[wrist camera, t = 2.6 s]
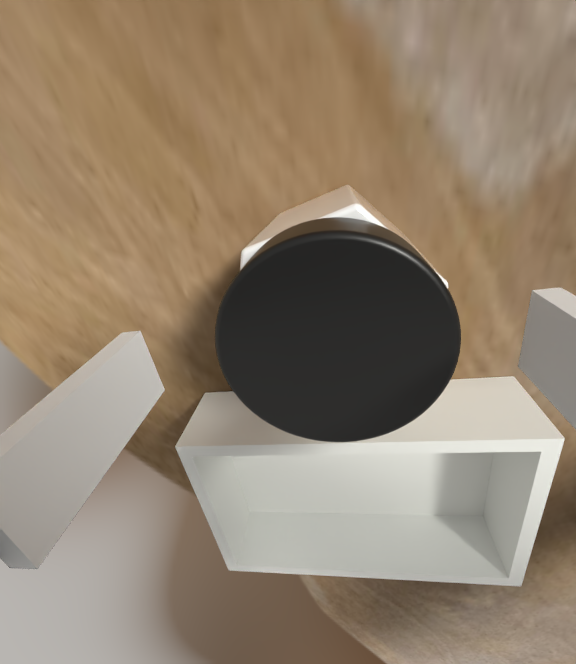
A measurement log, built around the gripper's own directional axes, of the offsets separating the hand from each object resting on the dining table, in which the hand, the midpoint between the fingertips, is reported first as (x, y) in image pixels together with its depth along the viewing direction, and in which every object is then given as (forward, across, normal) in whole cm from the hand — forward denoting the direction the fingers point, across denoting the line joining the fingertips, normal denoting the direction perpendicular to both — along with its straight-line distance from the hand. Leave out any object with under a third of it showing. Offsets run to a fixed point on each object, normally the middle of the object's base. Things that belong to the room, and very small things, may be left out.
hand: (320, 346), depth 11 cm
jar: (+12, -1, 0) cm, 12 cm away
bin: (+11, -1, +18) cm, 21 cm away
